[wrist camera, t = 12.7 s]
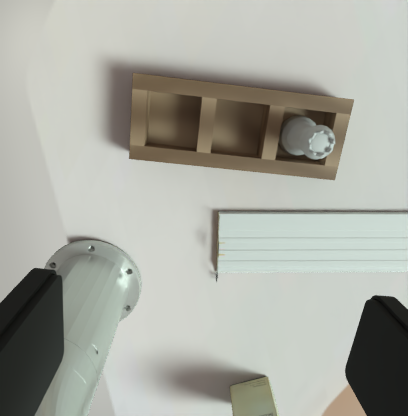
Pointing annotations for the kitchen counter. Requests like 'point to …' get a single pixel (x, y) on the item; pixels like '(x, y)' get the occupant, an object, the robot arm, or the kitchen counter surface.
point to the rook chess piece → (306, 138)
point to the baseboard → (312, 242)
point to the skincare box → (253, 398)
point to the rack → (229, 125)
